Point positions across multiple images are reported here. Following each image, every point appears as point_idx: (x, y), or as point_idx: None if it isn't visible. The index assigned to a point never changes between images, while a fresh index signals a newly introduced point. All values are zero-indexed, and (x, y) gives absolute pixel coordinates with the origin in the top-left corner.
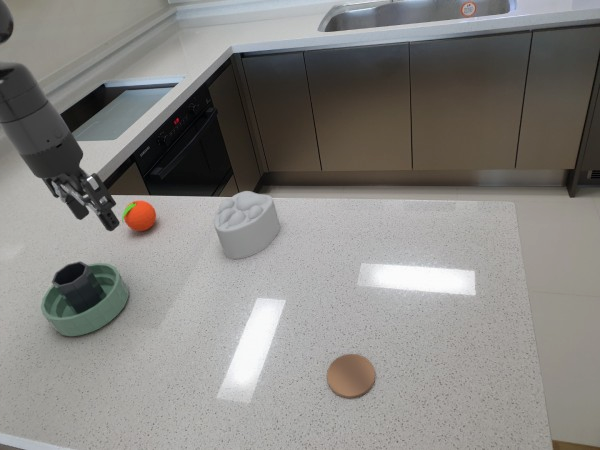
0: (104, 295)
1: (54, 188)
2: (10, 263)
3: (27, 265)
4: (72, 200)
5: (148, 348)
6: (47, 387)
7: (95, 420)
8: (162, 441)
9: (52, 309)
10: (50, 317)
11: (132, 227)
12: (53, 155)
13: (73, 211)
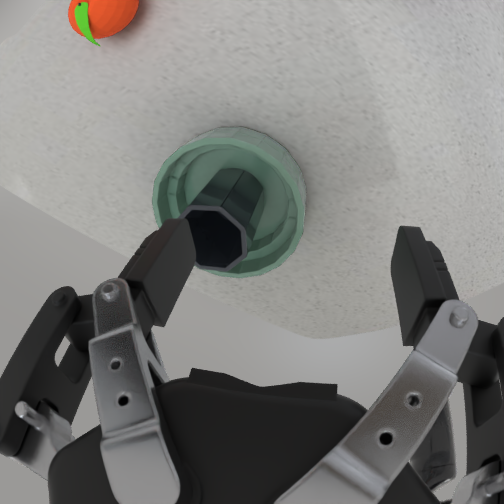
0: (248, 177)
1: (83, 371)
2: (39, 203)
3: (55, 193)
4: (150, 307)
5: (409, 213)
6: (311, 302)
7: None
8: (486, 288)
9: None
10: (239, 276)
11: (116, 32)
12: None
13: (179, 293)
